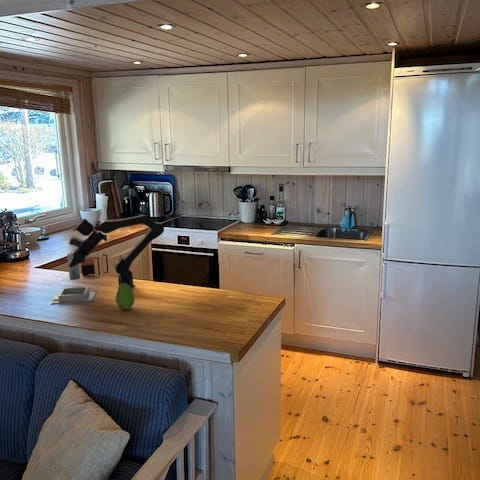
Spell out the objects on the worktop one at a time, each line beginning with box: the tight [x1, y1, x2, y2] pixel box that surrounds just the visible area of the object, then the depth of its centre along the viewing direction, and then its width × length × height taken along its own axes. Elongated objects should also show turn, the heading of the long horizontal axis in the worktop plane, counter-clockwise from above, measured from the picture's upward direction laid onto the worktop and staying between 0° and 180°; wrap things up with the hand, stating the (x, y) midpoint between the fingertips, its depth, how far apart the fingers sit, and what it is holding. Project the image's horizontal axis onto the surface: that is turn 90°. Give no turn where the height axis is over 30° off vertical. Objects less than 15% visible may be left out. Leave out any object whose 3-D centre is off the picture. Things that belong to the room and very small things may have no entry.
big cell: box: [66, 251, 81, 281], centre depth 233 cm, size 5×5×13 cm
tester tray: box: [51, 286, 97, 305], centre depth 226 cm, size 18×13×4 cm
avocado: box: [115, 283, 135, 311], centre depth 209 cm, size 8×8×12 cm
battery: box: [80, 255, 96, 276], centre depth 266 cm, size 4×7×10 cm, turn 114°
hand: (70, 265), depth 232 cm, fingers closed on big cell, 5 cm apart
